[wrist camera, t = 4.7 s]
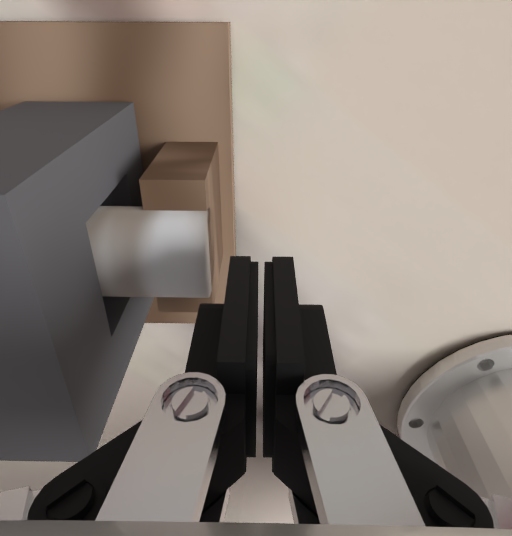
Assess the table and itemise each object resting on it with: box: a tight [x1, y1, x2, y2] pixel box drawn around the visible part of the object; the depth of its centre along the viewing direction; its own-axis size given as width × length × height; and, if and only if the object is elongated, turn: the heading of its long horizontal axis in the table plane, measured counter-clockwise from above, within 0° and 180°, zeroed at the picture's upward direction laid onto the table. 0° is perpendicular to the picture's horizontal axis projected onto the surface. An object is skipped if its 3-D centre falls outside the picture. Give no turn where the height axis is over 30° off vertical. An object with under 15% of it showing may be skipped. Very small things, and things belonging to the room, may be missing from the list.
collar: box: [0, 101, 154, 462], centre depth 14 cm, size 4×8×9 cm, turn 0°
